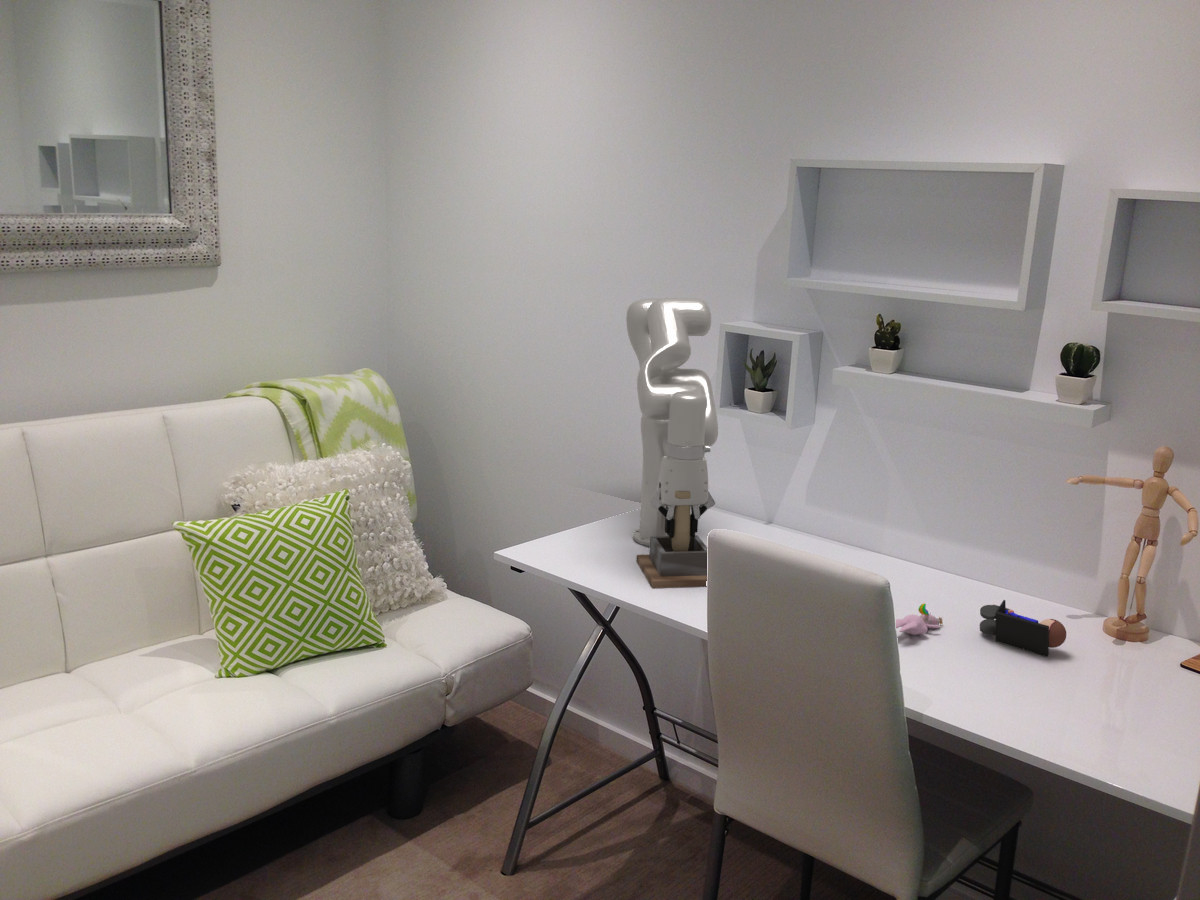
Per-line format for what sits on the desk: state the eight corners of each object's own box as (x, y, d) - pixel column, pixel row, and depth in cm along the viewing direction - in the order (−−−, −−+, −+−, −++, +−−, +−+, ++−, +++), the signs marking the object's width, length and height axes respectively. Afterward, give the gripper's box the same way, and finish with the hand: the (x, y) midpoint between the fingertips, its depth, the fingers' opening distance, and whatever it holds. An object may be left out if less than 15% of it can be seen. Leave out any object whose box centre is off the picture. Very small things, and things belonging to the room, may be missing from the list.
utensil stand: (636, 561, 227) (637, 533, 226) (702, 559, 230) (704, 531, 228) (652, 588, 212) (653, 558, 210) (723, 586, 215) (725, 556, 213)
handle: (698, 556, 220) (702, 488, 217) (677, 562, 216) (681, 493, 213) (681, 550, 224) (685, 483, 220) (660, 556, 220) (664, 488, 216)
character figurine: (985, 630, 198) (1066, 655, 188) (969, 638, 193) (1052, 665, 183) (992, 590, 196) (1074, 614, 187) (976, 598, 191) (1059, 622, 181)
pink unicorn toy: (918, 625, 202) (879, 633, 191) (924, 595, 201) (885, 602, 190) (948, 635, 197) (909, 644, 187) (954, 605, 197) (916, 612, 186)
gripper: (719, 446, 220) (714, 529, 224) (641, 447, 217) (638, 531, 221) (729, 455, 212) (724, 540, 217) (649, 456, 210) (645, 542, 214)
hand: (680, 534), depth 219 cm, fingers closed on handle, 4 cm apart
